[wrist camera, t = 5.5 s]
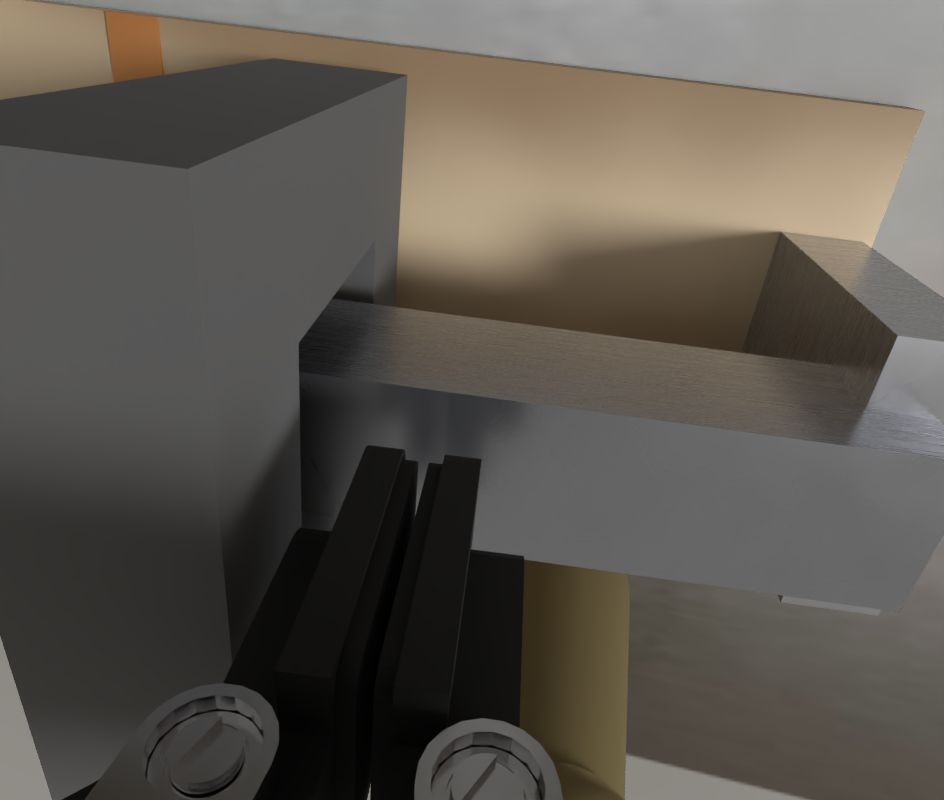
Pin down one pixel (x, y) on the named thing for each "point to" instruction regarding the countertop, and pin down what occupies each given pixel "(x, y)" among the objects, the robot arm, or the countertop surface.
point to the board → (547, 169)
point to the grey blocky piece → (666, 432)
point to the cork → (577, 674)
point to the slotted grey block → (167, 368)
